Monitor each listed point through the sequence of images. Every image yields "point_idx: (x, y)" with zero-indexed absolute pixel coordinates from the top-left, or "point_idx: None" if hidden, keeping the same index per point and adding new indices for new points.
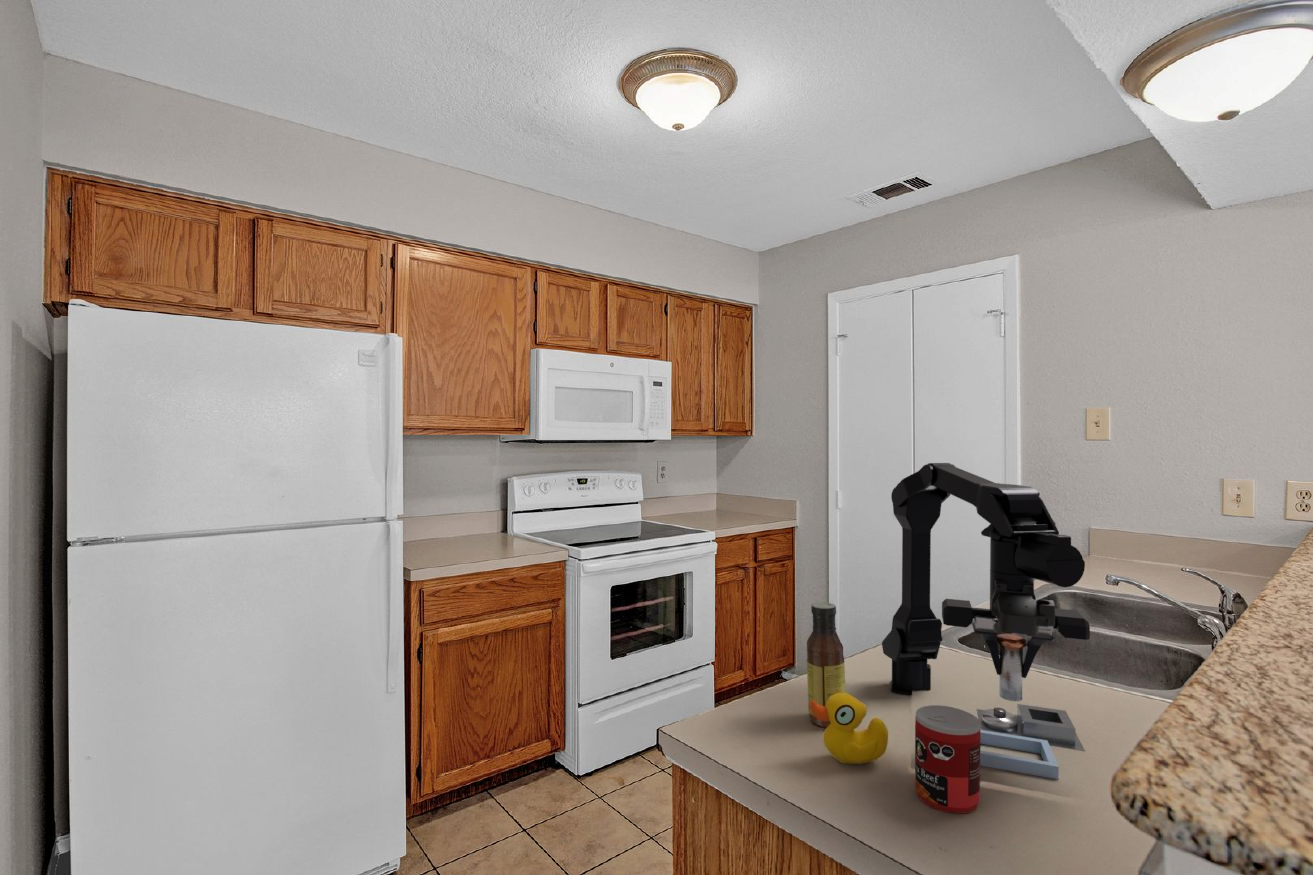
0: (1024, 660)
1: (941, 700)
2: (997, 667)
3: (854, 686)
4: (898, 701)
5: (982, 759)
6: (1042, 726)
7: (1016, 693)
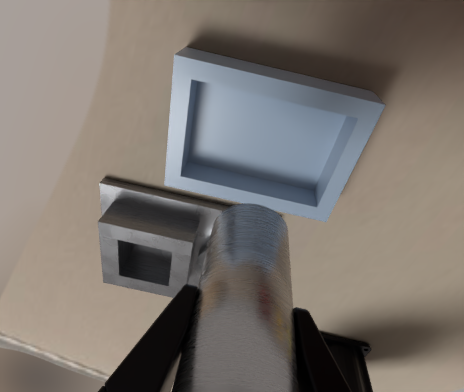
0: (168, 375)
1: None
2: (315, 341)
3: (427, 357)
4: (373, 321)
5: (349, 93)
6: (159, 231)
7: (241, 222)
